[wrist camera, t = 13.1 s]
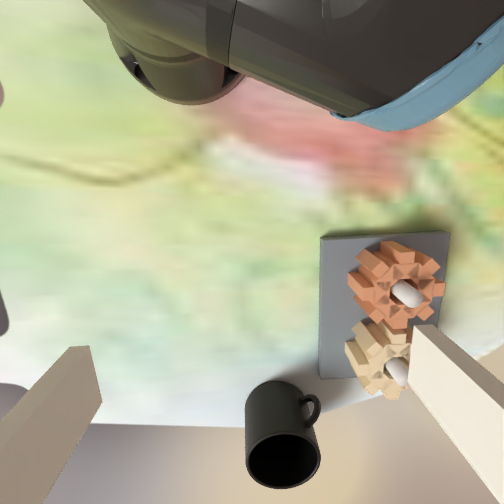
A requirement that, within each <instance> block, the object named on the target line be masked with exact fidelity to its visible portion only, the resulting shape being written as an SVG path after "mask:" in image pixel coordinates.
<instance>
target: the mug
mask: <svg viewBox="0 0 504 504" xmlns="http://www.w3.org/2000/svg"><path fill="white" fill-rule="evenodd" d="M309 401H312V402H313V403H314V411H313V413H312V415H311V416H310V413H309V410H308V406H307V402H309ZM320 410H321V405H320V401H319V400H318V398H317V397H316V396H315V395H313V394H309V395H306V396H304V395H303V393H302V392H301V391H300V390H299V389H298V388H297V387H295V386H294V385H292V384H289V383H286V382H281V381H273V382H268V383H265V384H262V385H260V386H258V387H257V388H256V389H254V390H253V391H252V392H251V394H250V395H249V397H248V399H247V401H246V404H245V445H246V446H245V448H246V449H245V451H246V453H245V454H246V467H247V470H248V472H249V474H250V476H251V477H252V478H253V479H254V480H255V481H256V482H258V483H259V484H261V485H263V486H265V487H269V488H273V489H288V488H293V487H296V486H299V485H301V484H303V483H305V482H307V481H308V480H309V479H311V478H312V477H313V476H314V474H315V473H316V472H317V470H318V468H319V466H320V461H321V454H320V450H319V446H318V443H317V439H316V435H315V432H314V428H313V424H314V423H315V422H316V420H317V419H318V417H319V414H320Z"/></svg>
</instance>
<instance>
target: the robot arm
mask: <svg viewBox="0 0 504 504" xmlns="http://www.w3.org/2000/svg"><path fill="white" fill-rule="evenodd" d="M83 1H84V2H85V3H86V4H87V5H88V6H89V7H90V8H91V9H92V10H93V11H94V12H95V13H96V14H97V15H98V16H99V17H100V18H101V19H102V20H103V21H104V22H105V23H106V25H107V29H108V33H109V36H110V39H111V41H112V44H113V46H114V48H115V51H116V53H117V54H118V56H119V58H120V60H121V61H122V63H123V64H124V66H125V67H126V68H127V70H128V71H129V72H130V73H131V75H132V76H133V77H134V78H135V79H136V80H137V81H138V82H139V83H141V84H142V85H143V86H144V87H146V88H147V89H148V90H149V91H151V92H152V93H154V94H155V95H157V96H158V97H160V98H162V99H164V100H167V101H170V102H173V103H176V104H182V105H201V104H206V103H209V102H212V101H215V100H217V99H219V98H221V97H223V96H224V95H226V94H227V93H229V92H230V91H231V90H232V89H233V88H234V87H235V86H236V85H237V84H238V83H239V82H240V81H241V80H242V78H243V77H244V75H246V76H249V77H251V78H253V79H256V80H258V81H260V82H263V83H265V84H267V85H270V86H272V87H274V88H277V89H279V90H281V91H284V92H286V93H288V94H291V95H293V96H295V97H298V98H300V99H302V100H305V101H307V102H309V103H312V104H314V105H316V106H319V107H321V108H323V109H326V110H328V111H330V114H331V115H332V116H334V117H336V118H338V119H340V120H344V121H355V122H357V123H360V124H363V125H365V126H368V127H371V128H374V129H377V130H380V131H386V132H389V131H402V130H408V129H412V128H414V127H417V126H420V125H422V124H425V123H427V122H429V121H431V120H433V119H435V118H436V117H438V116H440V115H441V114H443V113H445V112H446V111H448V110H450V109H451V108H452V107H454V106H455V105H457V104H458V103H459V102H461V101H462V100H463V99H465V98H466V97H467V96H469V95H470V94H471V93H472V92H474V91H475V90H476V89H477V88H478V87H479V86H481V85H482V84H483V83H484V82H485V81H486V80H487V79H489V78H490V77H491V76H492V75H493V74H494V73H495V72H496V71H497V70H498V69H499V68H500V67H501V66H502V65H503V64H504V0H83ZM407 382H408V384H409V385H410V386H411V387H412V389H413V390H414V391H415V393H416V394H417V395H418V397H419V398H420V399H421V401H422V402H423V403H424V404H425V406H426V407H427V408H428V410H429V411H430V412H431V414H432V415H433V416H434V418H435V419H436V420H437V421H438V423H439V424H440V426H441V427H442V428H443V429H444V431H445V432H446V433H447V434H448V436H449V437H450V439H451V440H452V441H453V443H454V444H455V445H456V447H457V448H458V449H459V450H460V452H461V453H462V454H463V456H464V457H465V458H466V460H467V461H468V462H469V464H470V465H471V466H472V467H473V469H474V470H475V472H476V473H477V474H478V475H479V477H480V478H481V479H482V481H483V482H484V483H485V484H486V486H487V487H488V489H489V490H490V491H491V493H492V494H493V495H494V496H495V498H496V499H497V500H498V502H499V503H500V504H504V384H503V383H502V382H500V380H498V379H497V378H496V377H495V376H494V375H492V374H491V373H490V372H489V371H488V370H486V369H485V368H484V367H483V366H482V365H480V364H479V363H478V362H477V361H476V360H474V359H473V358H472V357H471V356H470V355H468V354H467V353H466V352H465V351H464V350H463V349H461V348H460V347H459V346H458V345H457V344H455V343H454V342H453V341H452V340H451V339H449V338H448V337H447V336H446V335H445V334H443V333H442V332H441V331H440V330H439V329H437V328H436V327H435V326H434V325H433V324H429V325H414V329H413V338H412V346H411V355H410V363H409V372H408V380H407ZM101 403H102V398H101V394H100V390H99V385H98V381H97V377H96V373H95V368H94V364H93V360H92V356H91V351H90V347H89V346H75V347H69V348H68V349H67V350H66V351H65V352H64V354H63V355H62V356H61V357H60V358H59V359H58V360H57V361H56V362H55V363H54V364H53V365H52V366H51V367H50V368H49V369H48V371H47V372H46V373H45V374H44V375H43V376H42V377H41V378H40V379H39V380H38V381H37V382H36V383H35V384H34V385H33V386H32V388H31V389H30V390H29V391H28V392H27V393H26V394H25V395H24V396H23V397H22V398H21V399H20V401H18V402H17V404H16V405H15V406H14V407H13V408H12V409H11V410H10V411H9V412H8V413H7V414H6V415H5V416H4V417H3V418H2V419H1V421H0V504H43V502H44V501H45V499H46V497H47V495H48V494H49V492H50V490H51V489H52V487H53V485H54V484H55V482H56V480H57V479H58V477H59V475H60V473H61V472H62V470H63V468H64V467H65V465H66V463H67V461H68V459H69V458H70V456H71V454H72V453H73V451H74V449H75V448H76V446H77V444H78V443H79V441H80V439H81V437H82V436H83V434H84V432H85V431H86V429H87V427H88V426H89V424H90V422H91V420H92V419H93V417H94V415H95V414H96V412H97V410H98V409H99V407H100V405H101Z"/></svg>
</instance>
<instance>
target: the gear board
mask: <svg viewBox="0 0 504 504" xmlns="http://www.w3.org/2000/svg"><path fill="white" fill-rule="evenodd" d="M449 240H450V233H448V232H445V231H429V232H411V233H393V234H375V235H358V236H340V237H322V238H320V283H319V348H318V374H319V376H320V379H321V380H322V379H337V378H352V377H358V379H359V381H360V383H361V385H362V386H363V388H364V389H365V390H366V391H367V392H368V393H370V394H371V395H373V394H374V393H376V392H377V391H378V390H379V389H380V390H381V391H382V393H383V394H384V396H385V397H386V399H387V400H390V399H399V397H400V390H406V389H407V388H408V387H409V388H410V389H412V387H411V386H410V385H409V384H408V382H407V380H408V372H409V363H410V355H411V346H412V338H413V329H414V325H429V324H433V325H434V326H435V327H436V328H437V325H438V318H439V311H440V304H441V297H442V296H436V297H432V302H431V303H430V304H429V305H428V306H429V307H430V308H431V309H432V310H433V311H434V313H433V314H432V315H430V316H429V317H428V318H427V319H426V320H425V321H423V320H422V319H421V318H420V317H419V316H417V315H416V316H415V317H414V318H408V321H407V328H403V329H393V328H392V327H391V326H390V325H389V324H388V323H387V322H386V321H385V320H384V318H383V319H382V320H381V321H380V322H379V323H378V324H377V323H376V322H375V321H373V320H372V319H371V318H370V317H369V316H368V315H367V314H366V313H365V311H364V310H363V309H362V308H361V307H360V305H359V304H358V303H357V302H356V301H355V299H354V298H353V297H354V296H355V295H356V293H355V292H354V291H353V290H352V289H351V288H350V286H349V285H348V284H347V282H348V272H358V267H359V266H360V265H361V263H360V262H359V261H358V260H357V259H356V258H355V257H356V256H357V255H358V254H359V253H360V252H361V251H362V250H363V249H366V250H367V251H369V252H370V253H372V254H373V253H374V252H377V251H379V250H380V241H395V242H396V243H398V244H400V245H402V246H404V247H407V246H409V247H411V248H413V249H415V250H417V251H419V252H421V253H423V254H425V255H427V256H429V257H431V258H432V259H433V260H434V261H435V262H436V263H437V264H438V265H439V266H440V268H439V269H438V270H437V271H436V272H435V273H434V274H432V275H433V276H434V277H436V278H438V279H440V280H441V281H443V282H444V276H445V269H446V262H447V255H448V247H449ZM390 292H391V293H392V294H394V295H395V296H396V297H397V298H398V299H399V300H401V301H402V302H403V303H404V304H405V305H406V306H408V307H410V308H415V307H417V306H419V305H420V304H421V303H422V301H423V295H422V293H421V292H419V291H418V290H417V289H415V288H414V287H412V286H411V285H410V284H408V283H407V282H405V281H404V280H403V279H399V280H398V281H397V282H396V283H395V284H393V285H392V286H391V287H390ZM412 390H413V389H412ZM413 391H414V390H413ZM414 392H415V391H414Z"/></svg>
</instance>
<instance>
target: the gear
mask: <svg viewBox="0 0 504 504" xmlns="http://www.w3.org/2000/svg"><path fill="white" fill-rule="evenodd" d="M355 258H356V259H357V260H358V261H359V262H360V263H361V265H360V266H359V267H358V272H348V282H347V284H348V285H349V286H350V288H351V289H352V290H353V291H354V292H355V293H356V295H355V296H354V297H353V298H354V299H355V301H356V302H357V303H358V304H359V305H360V307H361V308H362V309H363V310H364V311H365V313H366V314H367V315H368V316H369V317H370V318H371V319H372V320H373V321H375V322H376V323H377V324H378V323H379V322H380V321H381V320H382V319H383V318H384V320H385V321H386V322H387V323H388V324H389V325H390V326H391V327H392V328H393V329H403V328H407V321H408V318H414V317H415V316H416V315H417V316H419V317H420V318H421V319H422V320H423V321H425V320H426V319H427V318H428V317H429V316H430V315H432V314H433V313H434V311H433V310H432V309H431V308H430V307H429V306H428V305H429V304H430V303H431V302H432V297H436V296H444V291H445V284H446V283H445V282H443V281H441V280H440V279H438V278H436V277H434V276H433V275H432V274H434V273H435V272H436V271H437V270H438V269H439V268H440V266H439V265H438V264H437V263H436V262H435V261H434V260H433V259H432V258H431V257H429V256H427V255H425V254H423V253H421V252H419V251H417V250H415V249H413V248H411V247H409V246H407V247H404V246H402V245H400V244H398V243H396V242H395V241H380V250H379V251H377V252H374V253H373V254H372V253H370V252H369V251H367V250H366V249H363V250H362V251H361V252H360V253H359V254H358V255H357V256H356V257H355ZM399 279H403V280H404V281H405V282H407V283H408V284H410V285H411V286H412V287H414V288H415V289H417V290H418V291H419V292H421V293H422V295H423V301H422V303H421V304H420V305H419V306H417V307H415V308H410V307H408V306H406V305H405V304H404V303H403V302H402V301H401V300H399V299H398V298H397V297H396V296H395V295H394V294H392V293H391V292H390V287H391V286H392V285H393V284H395V283H396V282H397V281H398V280H399Z"/></svg>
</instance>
